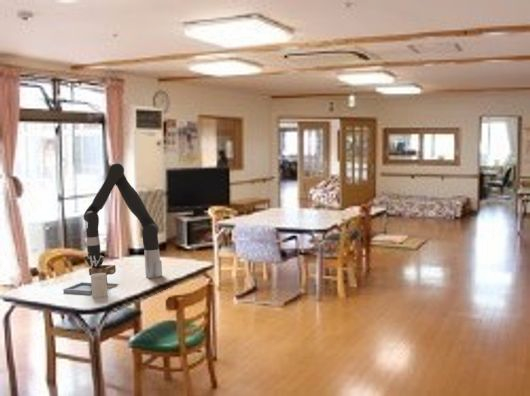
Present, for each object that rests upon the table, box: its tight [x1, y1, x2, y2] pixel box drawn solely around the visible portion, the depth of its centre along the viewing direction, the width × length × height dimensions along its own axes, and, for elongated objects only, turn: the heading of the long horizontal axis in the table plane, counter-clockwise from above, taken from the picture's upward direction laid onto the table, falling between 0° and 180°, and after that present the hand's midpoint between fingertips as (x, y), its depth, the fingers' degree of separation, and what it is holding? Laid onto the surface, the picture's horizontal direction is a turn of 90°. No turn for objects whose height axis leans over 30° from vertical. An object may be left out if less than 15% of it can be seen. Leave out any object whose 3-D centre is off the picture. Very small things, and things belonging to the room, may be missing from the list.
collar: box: [88, 264, 117, 276], centre depth 353 cm, size 13×11×4 cm
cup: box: [90, 273, 109, 299], centre depth 325 cm, size 8×8×12 cm
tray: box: [63, 281, 109, 296], centre depth 340 cm, size 18×16×2 cm
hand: (95, 272), depth 355 cm, fingers closed on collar, 1 cm apart
